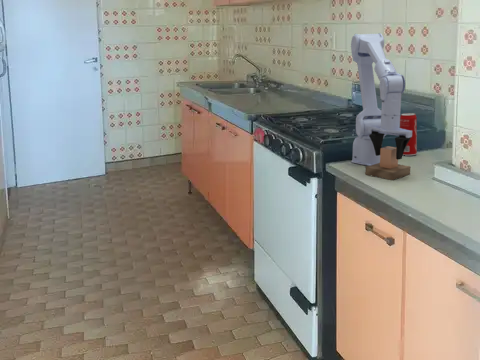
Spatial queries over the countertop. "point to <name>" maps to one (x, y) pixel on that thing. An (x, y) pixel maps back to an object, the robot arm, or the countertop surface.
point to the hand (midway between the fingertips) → (388, 157)
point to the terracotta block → (388, 157)
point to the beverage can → (410, 123)
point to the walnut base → (388, 171)
